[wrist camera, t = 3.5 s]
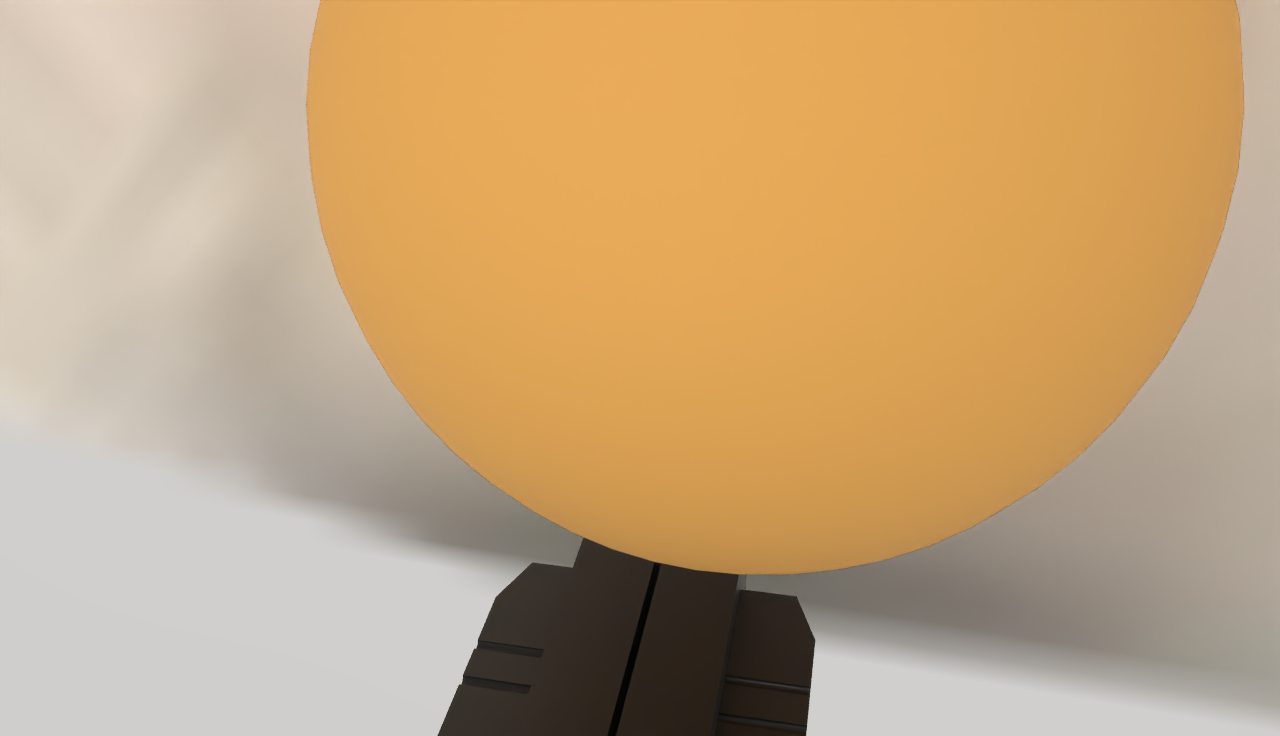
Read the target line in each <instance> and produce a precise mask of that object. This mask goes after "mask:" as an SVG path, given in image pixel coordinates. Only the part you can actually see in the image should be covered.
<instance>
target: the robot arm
mask: <svg viewBox="0 0 1280 736" xmlns="http://www.w3.org/2000/svg"><path fill="white" fill-rule="evenodd" d="M745 589H746V574H730V573H720V572H710V571H700V570H693V569H688V568H683V567H678V566H673V565H668V564H663V563H658V562H653V561H650V560H647V559H643V558H640V557H637V556H633V555H630V554H627V553H624V552H620V551H617V550H614V549H611V548H608V547H606V546H604V545H601V544H599V543H596V542H594V541H591V540H589V539H587V538H583V541H582V544H581V546H580V549H579V552H578V555H577V558H576V561H575V563H574V566H573V568H570V567H562V566H555V565H547V564H539V563H532V564H531V565H529V566H528V567H527V568H526V569H525V570H524V571H523V572H522V573H521V574H520V575H519V576H518V577H517V578H516V579H515V580H514V581H512V582H511V583H510V584H509V585H508V586H507V587H506V588H505V589H504V590H503V591H502V592H501V593H500V594H499V595H498V596H497V597H496V598H495V600H494V603H493V605H492V608H491V610H490V612H489V615H488V617H487V619H486V622H485V624H484V627H483V629H482V631H481V634H480V636H479V638H478V645H477V649H474V650H473V653H472V655H471V658H470V660H469V662H468V665H467V667H466V669H465V672H464V674H463V682H462V684H461V685H459V686H458V688H457V691H456V693H455V696H454V698H453V700H452V703H451V705H450V707H449V710H448V712H447V715H446V717H445V719H444V722H443V724H442V726H441V729H440V731H439V734H438V736H806V730H807V719H808V710H809V698H810V688H811V678H812V667H813V657H814V647H815V639H814V636H813V634H812V632H811V629H810V627H809V625H808V622H807V620H806V618H805V615H804V613H803V611H802V608H801V606H800V604H799V602H798V599H797V597H795V596H787V595H780V594H772V593H764V592H757V591H749V590H745Z"/></svg>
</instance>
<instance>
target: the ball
mask: <svg viewBox="0 0 1280 736" xmlns="http://www.w3.org/2000/svg"><path fill="white" fill-rule="evenodd" d="M306 108H307V124H308V140H309V155H310V165H311V173H312V182H313V187H314V193H315V198H316V203H317V208H318V213H319V218H320V223H321V228H322V233H323V236H324V239H325V242H326V245H327V248H328V251H329V255H330V258H331V261H332V264H333V267H334V270H335V273H336V276H337V279H338V281H339V284H340V286H341V288H342V290H343V292H344V294H345V296H346V299H347V301H348V303H349V305H350V307H351V309H352V311H353V313H354V316H355V318H356V320H357V322H358V324H359V326H360V328H361V330H362V332H363V334H364V336H365V338H366V340H367V342H368V344H369V345H370V347H371V349H372V350H373V352H374V353H375V355H376V357H377V358H378V360H379V362H380V363H381V365H382V366H383V368H384V370H385V371H386V373H387V374H388V376H389V378H390V379H391V381H392V383H393V384H394V385H395V387H396V388H397V389H398V390H399V392H400V393H401V394H402V395H403V397H404V398H405V399H406V401H407V402H408V403H409V404H410V406H411V407H412V408H413V409H414V411H415V412H416V413H417V414H418V416H419V417H420V418H421V420H422V421H423V422H424V423H425V424H426V425H427V426H428V427H429V428H430V429H431V430H432V431H433V432H434V433H435V434H436V435H437V436H438V437H439V438H440V439H441V440H442V441H443V442H444V443H445V444H446V445H447V446H448V447H449V448H450V449H451V450H452V451H453V452H454V453H455V454H456V455H457V456H458V457H460V458H461V459H462V460H463V461H464V462H466V463H467V464H468V465H469V466H471V467H472V468H473V469H474V470H475V471H477V472H478V473H479V474H480V475H481V476H483V477H484V478H485V479H486V480H487V481H489V482H490V483H491V484H493V485H494V486H496V487H497V488H499V489H500V490H502V491H503V492H505V493H506V494H508V495H509V496H511V497H512V498H514V499H515V500H517V501H518V502H520V503H521V504H523V505H524V506H526V507H527V508H529V509H530V510H532V511H533V512H535V513H537V514H538V515H540V516H542V517H544V518H546V519H548V520H550V521H552V522H553V523H555V524H557V525H559V526H561V527H563V528H565V529H567V530H568V531H570V532H572V533H575V534H577V535H579V536H582V537H584V538H587V539H589V540H591V541H594V542H596V543H599V544H601V545H604V546H606V547H608V548H611V549H614V550H617V551H620V552H624V553H627V554H630V555H633V556H637V557H640V558H643V559H647V560H650V561H653V562H658V563H663V564H668V565H673V566H678V567H683V568H688V569H693V570H700V571H710V572H720V573H730V574H799V573H809V572H819V571H829V570H839V569H844V568H849V567H854V566H859V565H863V564H868V563H873V562H878V561H883V560H887V559H890V558H893V557H896V556H900V555H903V554H906V553H909V552H912V551H915V550H918V549H921V548H924V547H928V546H931V545H933V544H935V543H938V542H940V541H942V540H944V539H946V538H949V537H951V536H953V535H955V534H958V533H960V532H962V531H964V530H966V529H969V528H971V527H973V526H975V525H977V524H979V523H980V522H982V521H984V520H985V519H987V518H989V517H990V516H992V515H994V514H996V513H997V512H999V511H1001V510H1002V509H1004V508H1006V507H1007V506H1009V505H1011V504H1012V503H1014V502H1016V501H1017V500H1019V499H1021V498H1022V497H1024V496H1026V495H1027V494H1029V493H1031V492H1032V491H1034V490H1036V489H1037V488H1039V487H1040V486H1041V485H1042V484H1044V483H1045V482H1046V481H1048V480H1049V479H1050V478H1051V477H1053V476H1054V475H1055V474H1057V473H1058V472H1059V471H1061V470H1062V469H1063V468H1064V467H1066V466H1067V465H1068V464H1070V463H1071V462H1072V461H1074V460H1075V459H1076V458H1077V457H1078V456H1079V455H1080V454H1081V453H1082V452H1083V451H1084V450H1085V449H1087V448H1088V447H1089V446H1090V445H1091V444H1092V443H1093V442H1094V441H1095V440H1096V439H1097V438H1098V437H1099V436H1100V435H1101V434H1102V433H1103V432H1104V431H1105V430H1106V429H1107V428H1108V427H1109V426H1110V425H1111V424H1112V423H1113V422H1114V421H1115V420H1116V418H1117V417H1118V416H1119V415H1120V413H1121V412H1122V411H1123V410H1124V408H1125V407H1126V406H1127V405H1128V403H1129V402H1130V401H1131V400H1132V398H1133V397H1134V396H1135V394H1136V393H1137V392H1138V391H1139V389H1140V388H1141V387H1142V385H1143V384H1144V383H1145V382H1146V380H1147V379H1148V378H1149V376H1150V375H1151V374H1152V372H1153V371H1154V370H1155V369H1156V367H1157V366H1158V365H1159V363H1160V362H1161V361H1162V360H1163V358H1164V357H1165V355H1166V354H1167V352H1168V350H1169V348H1170V347H1171V345H1172V343H1173V341H1174V340H1175V338H1176V336H1177V335H1178V333H1179V331H1180V329H1181V328H1182V326H1183V324H1184V322H1185V321H1186V319H1187V317H1188V316H1189V314H1190V312H1191V310H1192V309H1193V307H1194V304H1195V302H1196V299H1197V297H1198V294H1199V292H1200V289H1201V287H1202V284H1203V282H1204V279H1205V277H1206V274H1207V272H1208V270H1209V267H1210V265H1211V262H1212V260H1213V257H1214V255H1215V252H1216V249H1217V246H1218V243H1219V241H1220V238H1221V235H1222V232H1223V229H1224V225H1225V221H1226V217H1227V213H1228V209H1229V205H1230V201H1231V197H1232V193H1233V189H1234V185H1235V181H1236V177H1237V173H1238V167H1239V156H1240V146H1241V136H1242V125H1243V115H1244V90H1243V70H1242V52H1241V34H1240V18H1239V14H1238V9H1237V4H1236V0H320V5H319V9H318V14H317V19H316V24H315V29H314V33H313V38H312V43H311V48H310V58H309V72H308V87H307V101H306Z"/></svg>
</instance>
